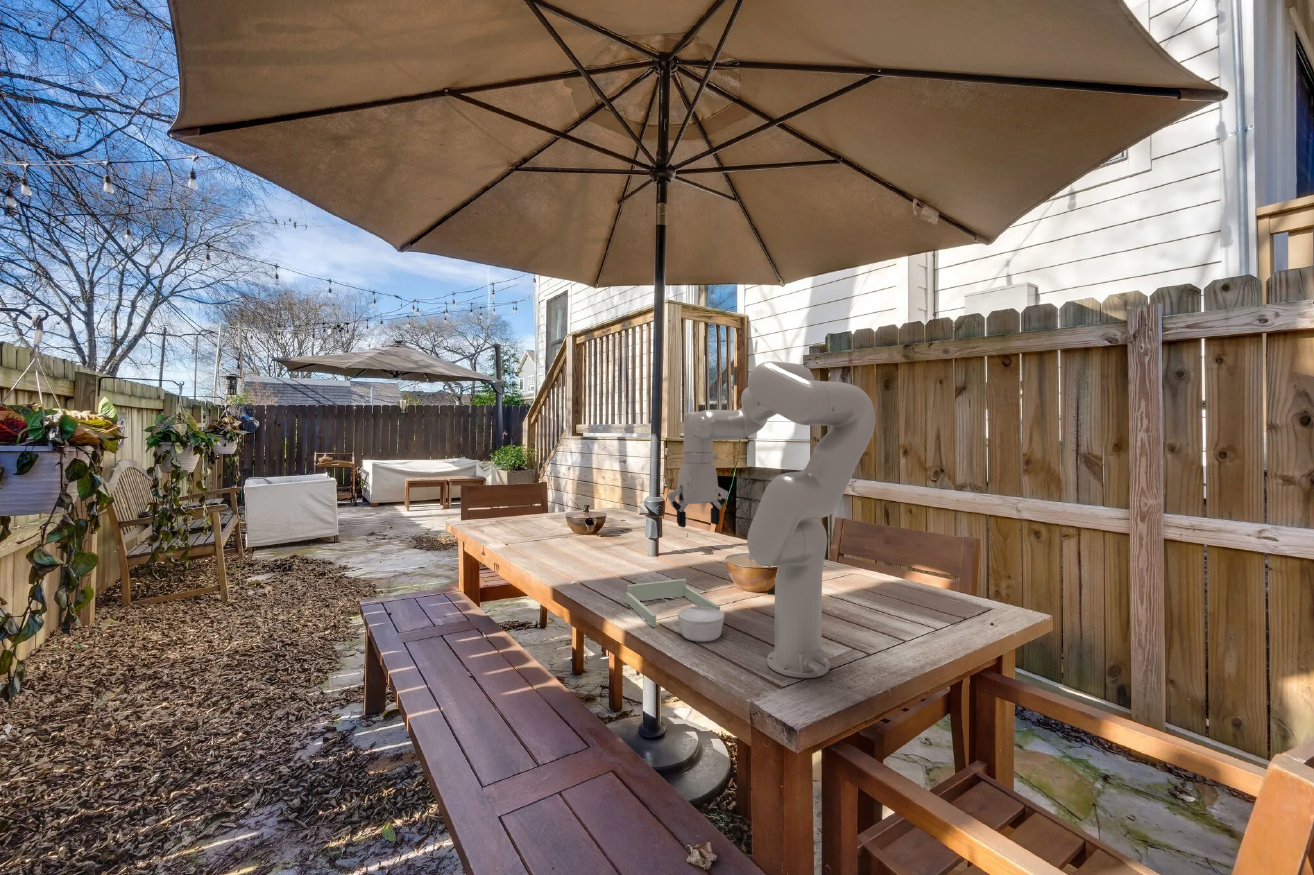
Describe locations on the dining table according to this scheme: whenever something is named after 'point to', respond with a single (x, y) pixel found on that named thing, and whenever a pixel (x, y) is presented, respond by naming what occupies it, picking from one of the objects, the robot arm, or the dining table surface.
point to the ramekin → (701, 623)
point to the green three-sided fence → (662, 596)
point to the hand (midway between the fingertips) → (698, 525)
